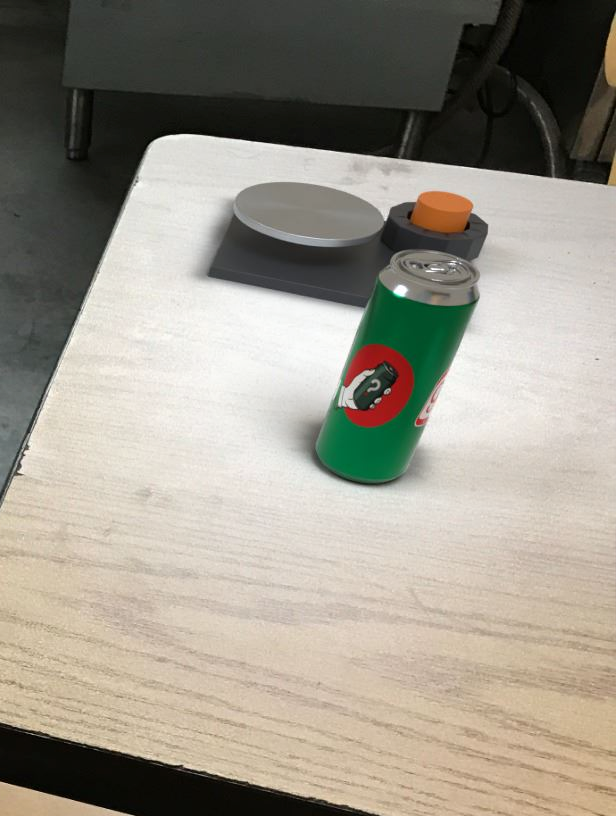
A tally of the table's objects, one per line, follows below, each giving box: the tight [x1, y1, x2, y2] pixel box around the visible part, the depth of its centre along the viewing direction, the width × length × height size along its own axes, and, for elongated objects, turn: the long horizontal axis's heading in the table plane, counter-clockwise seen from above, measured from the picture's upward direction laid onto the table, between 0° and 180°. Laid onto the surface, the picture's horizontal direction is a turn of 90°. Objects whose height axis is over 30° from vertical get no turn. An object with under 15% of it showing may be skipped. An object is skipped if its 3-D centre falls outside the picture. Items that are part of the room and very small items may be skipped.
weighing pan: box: [232, 181, 385, 247], centre depth 95 cm, size 10×10×1 cm
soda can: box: [314, 249, 481, 485], centre depth 74 cm, size 5×5×12 cm
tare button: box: [410, 190, 474, 233], centre depth 95 cm, size 4×4×2 cm
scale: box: [207, 201, 489, 309], centre depth 96 cm, size 17×14×4 cm
